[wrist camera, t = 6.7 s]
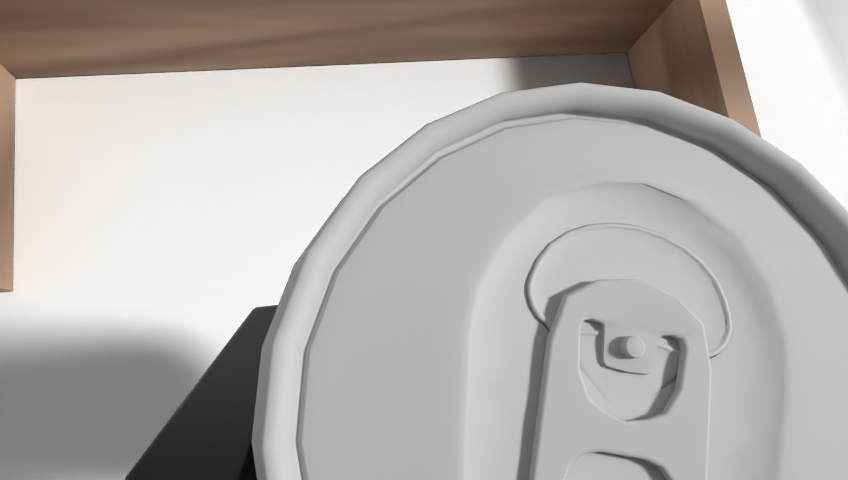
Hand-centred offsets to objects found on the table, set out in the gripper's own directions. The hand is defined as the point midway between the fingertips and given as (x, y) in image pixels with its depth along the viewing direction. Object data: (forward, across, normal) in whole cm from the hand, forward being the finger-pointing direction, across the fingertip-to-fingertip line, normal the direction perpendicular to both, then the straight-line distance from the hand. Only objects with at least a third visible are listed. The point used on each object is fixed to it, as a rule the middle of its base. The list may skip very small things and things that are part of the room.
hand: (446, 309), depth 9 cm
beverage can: (+4, 0, +6) cm, 7 cm away
